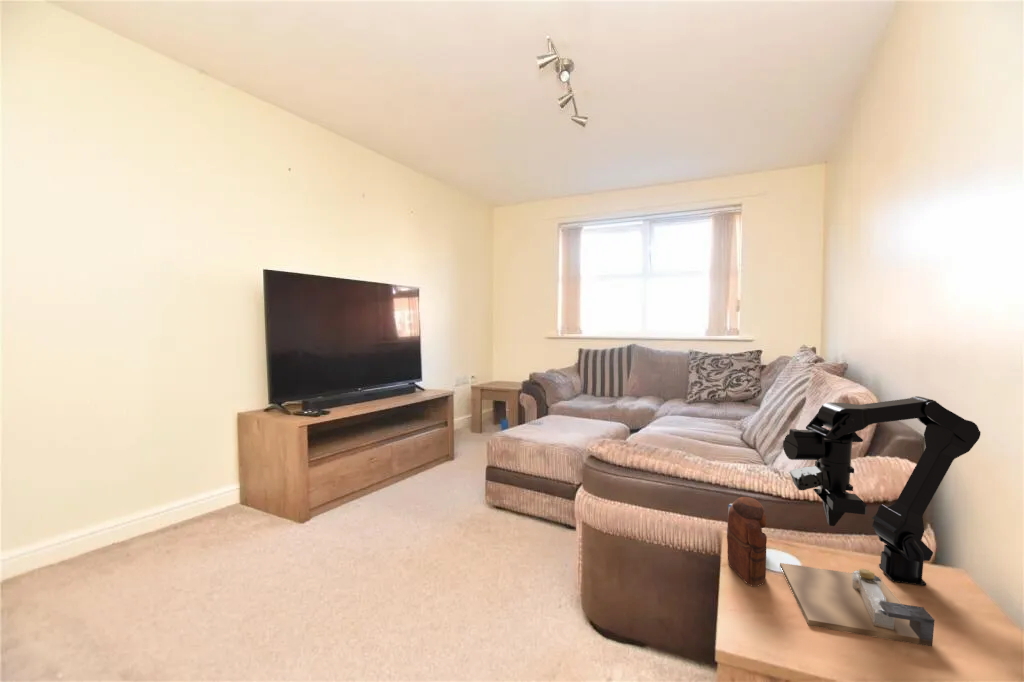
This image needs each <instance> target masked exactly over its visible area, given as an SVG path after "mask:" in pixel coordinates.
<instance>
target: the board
mask: <svg viewBox="0 0 1024 682" xmlns="http://www.w3.org/2000/svg"><path fill="white" fill-rule="evenodd" d="M780 566H781V568H782V570H783V572H784V575H785V577H786V579H787V581H788V583H789V585H790V587H791V589H790V590H792V591H791V593H792V592H793V593H792V595H793V594H794V595H793V597H794V599H795V601H796V604H797V605H798V608H799V609H800V612H801V614H802V616H803V617H804V619H805V622H806V624H807V626H810V627H816V628H821V629H826V630H833V631H839V632H844V633H848V634H849V633H850V634H856V635H862V636H866V637H872V638H878V639H886V640H891V641H896V642H904V643H909V644H914V645H918V646H919V645H921V642H920V643H919V640H921V639H920V638H919V637H918V636H917V635H916V633H915V632H914V631H913V630H912V628H911V627H910V626H909V622H910V620H906V619H900V618H894V630H891V629H887V628H883V627H879V626H875V625H874V624H873V622H872V620H871V617H870V615H869V613H868V610H867V608H866V606H865V603H864V601H863V599H862V596H861V594H860V592H859V591H858V590H856V589H855V588H854V587H853V586H852V578H853V572H847V571H839V570H833V569H828V568H827V569H826V568H819V567H811V566H805V565H798V564H790V563H784V562H780V563H779V567H780ZM859 574H860V576H862V577H864V578H866V579H874V577H875V575H876V574H875V573H874V572H873V571H872V570H870V569H867V568H860V569H859ZM784 575H783V576H784ZM785 577H784V578H785ZM877 577H878V578H879V579H880V580H881V588H880V589H881V591H882V593H883V595H884V597H885V599H886V601H887V602H891V603H898V604H903V602H901V601H900V599H899V598H898V597H897V596H896V595H895V594H894V593H895V592H893V591H892V590H891V589H890V587H889V586H888V585H887V584H886V583H885V581H884V580H883V579H882V577H880V576H877ZM786 579H785V580H786ZM787 581H786V582H787ZM788 583H787V584H788ZM789 585H788V586H789ZM790 587H789V588H790ZM921 641H922V642H924V641H926V640H923V639H922V640H921ZM927 641H930V640H927ZM933 642H934V641H933ZM933 642H930V643H933ZM925 643H927V642H925ZM923 644H924V643H923ZM923 644H922V645H921V646H924V647H925V645H926V644H924V645H923ZM933 644H934V643H933ZM927 645H930V646H929V647H931V644H928V643H927ZM931 648H932V647H931Z"/></svg>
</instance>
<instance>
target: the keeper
mask: <svg viewBox="0 0 1024 682" xmlns="http://www.w3.org/2000/svg"><path fill="white" fill-rule="evenodd" d="M880 606H881V607H882V608H883V610H884V611H885V612H886V614H887V615H888V616H889V617H894V618H900V619H906V620H910V622H909V626H910V627H911V628H912V630H913V631H914V632H915V633H916V635H917V636H918V637H919V638H920V639H921V640H922V639H923V640H926V641H924V642H922V641H921V640H919V643H920V642H921V646H924V644H926V645H925V646H926V647H930V645H927V643H928V644H931V648H932V647H933V644H934V643H930V642H934V631H935V630H934V629H935V618H933V616H932V615H931V614H930V613H929V612H928V611H927V610H926V609H925V608H924V607H923V606H915V605H909V604H903V603H902V604H898V603H891V602H885V601H880ZM927 640H930V641H927ZM925 642H927V643H925ZM923 643H924V644H923ZM922 644H923V645H922ZM925 646H924V647H925Z"/></svg>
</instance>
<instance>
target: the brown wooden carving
mask: <svg viewBox="0 0 1024 682" xmlns="http://www.w3.org/2000/svg"><path fill="white" fill-rule="evenodd" d="M731 504H732V505H731V507H730V509H729V513H728V512H727V524H728V529H727V528H726V539H727V543H726V544H727V563H728V564H729V566H730V567H731V568H732V569H733V571H735V572H736V574H738V575H739V577H740V578H741V579H742V580H743V581H744V582H747V583H746V584H747V585H749V586H751V585H752V587H759V586H760V584H761V585H763V584H764V583H765V580H766V574H767V564H766V563H767V540H768V537H767V535H766V533H765V532H763V529H764V528H765V527H766V526H767V522H766V521H767V516H766V514H765V509H764V506H763V505H762V503H760V501H758V500H757V499H756V498H753V497H749V496H741V497H738V498H736V499H735V500H733V502H732V503H731ZM727 531H728V532H727ZM762 583H763V584H762ZM758 585H759V586H758Z"/></svg>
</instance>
